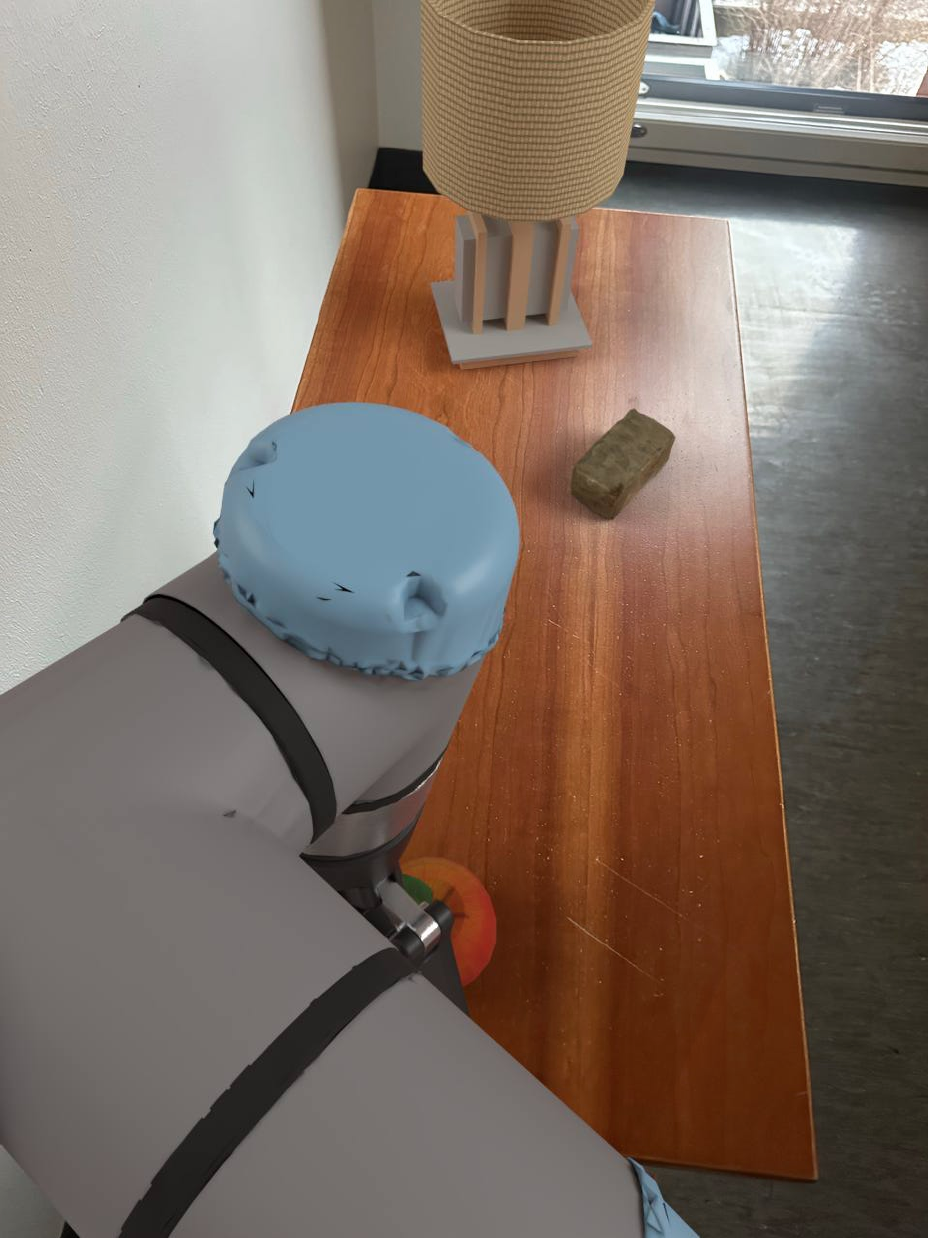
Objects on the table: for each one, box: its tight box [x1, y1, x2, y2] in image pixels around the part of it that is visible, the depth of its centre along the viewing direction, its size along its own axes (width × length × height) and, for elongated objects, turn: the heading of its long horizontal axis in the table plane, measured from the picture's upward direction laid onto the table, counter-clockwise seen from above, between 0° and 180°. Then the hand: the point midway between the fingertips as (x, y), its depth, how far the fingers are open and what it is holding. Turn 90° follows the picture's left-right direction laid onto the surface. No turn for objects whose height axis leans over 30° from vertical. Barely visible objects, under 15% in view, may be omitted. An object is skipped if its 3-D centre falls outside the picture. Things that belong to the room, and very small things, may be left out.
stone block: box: [570, 408, 677, 521], centre depth 90 cm, size 6×12×5 cm, turn 142°
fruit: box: [399, 855, 497, 988], centre depth 63 cm, size 10×10×10 cm
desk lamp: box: [420, 0, 657, 371], centre depth 89 cm, size 20×20×35 cm
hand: (304, 925), depth 51 cm, fingers open, 13 cm apart
